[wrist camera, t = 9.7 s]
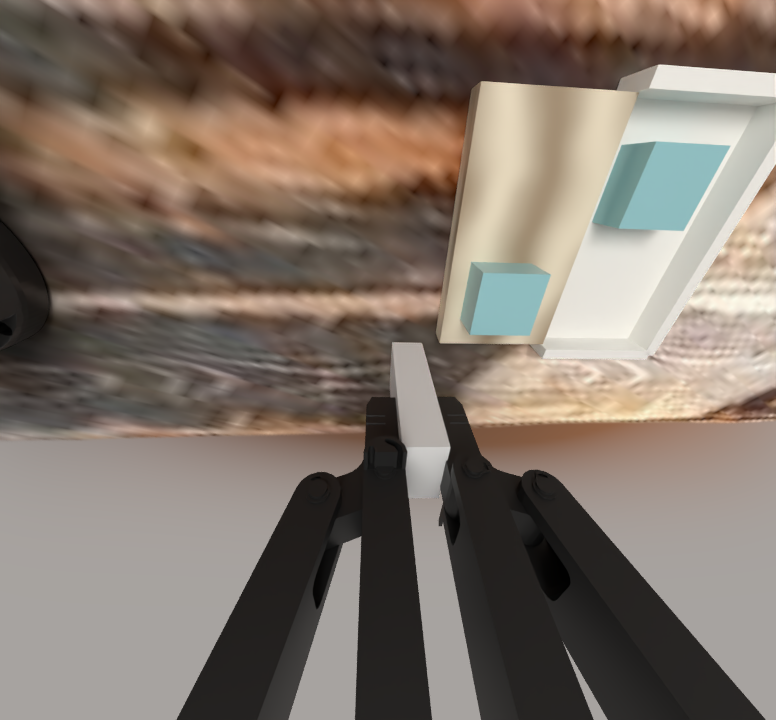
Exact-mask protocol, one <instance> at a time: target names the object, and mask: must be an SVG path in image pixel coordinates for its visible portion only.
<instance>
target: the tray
mask: <svg viewBox="0 0 776 720" xmlns="http://www.w3.org/2000/svg"><path fill="white" fill-rule="evenodd" d="M616 91H628V92H639V94H638V97H637V100H636V102H635V105H634V107H633V110H632V113H631V115H630V118H629V120H628V123H627V126H626V128H625V131H624V133H623V136H622V139H621V141H620V144H619V147H618V149H617V152H616V154H615V157H614V160H613V162H612V165H611V167H610V170H609V173H608V175H607V178H606V180H605V183H604V186H603V188H602V191H601V194H600V196H599V199H598V201H597V204H596V207H595V209H594V212H593V214H592V217H591V220H590V222H589V225H588V227H587V230H586V233H585V235H584V238H583V241H582V243H581V246H580V248H579V251H578V254H577V256H576V259H575V261H574V264H573V267H572V269H571V272H570V274H569V277H568V280H567V282H566V285H565V288H564V290H563V293H562V295H561V298H560V301H559V303H558V306H557V308H556V311H555V314H554V316H553V319H552V321H551V324H550V327H549V329H548V332H547V335H546V337H545V340H544V342H543V344H529V345H530V346H531V347H532V348H533V349H534V350H535V351H536V352H537V353H538V354H539V356H540V357H541V358H542V359H636V360H646V359H647V357H648V355H654V354H655V352H656V351H657V349H658V347H659V346H660V344H661V343H662V341H663V340H664V338H665V336H666V335H667V333H668V332H669V330H670V329H671V327H672V325H673V324H674V322H675V321H676V319H677V318H678V316H679V315H680V313H681V311H682V310H683V308H684V307H685V305H686V304H687V302H688V300H689V299H690V297H691V296H692V294H693V293H694V291H695V289H696V288H697V286H698V285H699V283H700V282H701V280H702V279H703V277H704V275H705V274H706V272H707V271H708V269H709V268H710V266H711V264H712V263H713V261H714V260H715V258H716V257H717V255H718V253H719V252H720V250H721V249H722V247H723V246H724V244H725V243H726V241H727V239H728V238H729V236H730V235H731V233H732V232H733V230H734V228H735V227H736V225H737V224H738V222H739V221H740V219H741V217H742V216H743V214H744V213H745V211H746V210H747V208H748V207H749V205H750V203H751V202H752V200H753V199H754V197H755V196H756V194H757V192H758V191H759V189H760V188H761V186H762V185H763V183H764V181H765V180H766V178H767V177H768V175H769V174H770V172H771V170H772V169H773V167H774V166H775V164H776V74H775V73H762V72H749V71H736V70H723V69H710V68H696V67H683V66H670V65H656V66H653V67H651V68H648V69H645V70H642V71H640V72H637V73H634V74H632V75H629V76H626V77H623V78H621V79H620V82H619V85H618V88H617V90H616ZM655 141H659V142H676V143H693V144H711V145H728V146H730V148H729V150H728V152H727V153H726V155H725V157H724V159H723V161H722V162H721V164H720V166H719V168H718V170H717V171H716V173H715V175H714V177H713V179H712V181H711V182H710V184H709V186H708V188H707V190H706V191H705V193H704V195H703V197H702V199H701V200H700V202H699V204H698V206H697V208H696V209H695V211H694V213H693V215H692V217H691V219H690V220H689V222H688V224H687V226H686V228H685V229H684V231H671V230H644V229H618V228H614V227H610V226H606V225H601V224H597V223H593V222H592V220H593V218H594V215H595V213H596V210H597V207H598V205H599V202H600V200H601V197H602V194H603V192H604V189H605V187H606V184H607V182H608V179H609V176H610V174H611V171H612V169H613V166H614V163H615V161H616V158H617V156H618V153H619V151H620V148H621V145H625V144H635V143H645V142H655Z"/></svg>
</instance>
